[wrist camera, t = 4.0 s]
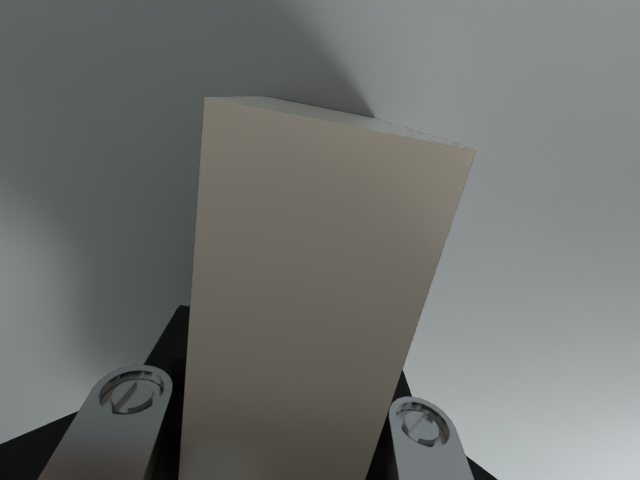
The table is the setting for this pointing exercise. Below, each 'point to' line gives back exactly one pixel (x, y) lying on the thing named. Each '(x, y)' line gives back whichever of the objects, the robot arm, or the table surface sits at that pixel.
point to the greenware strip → (306, 284)
